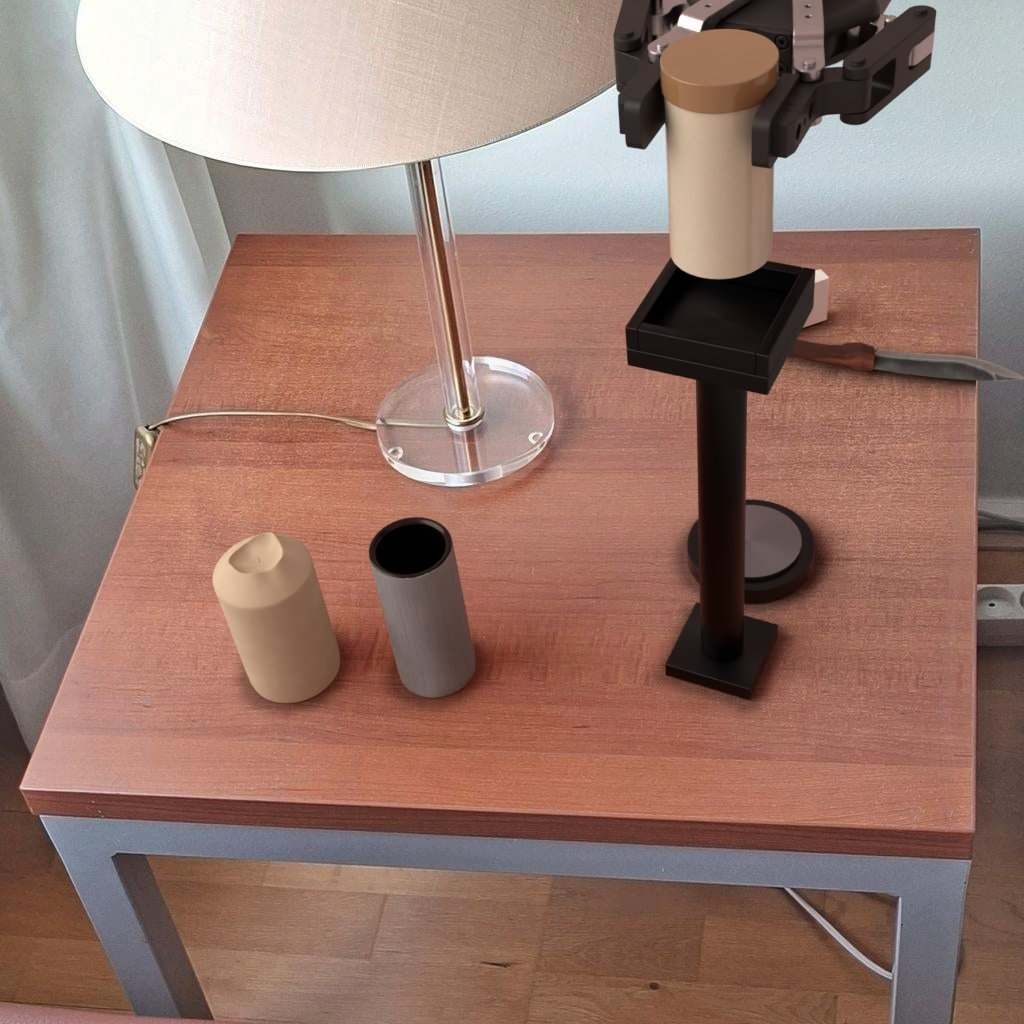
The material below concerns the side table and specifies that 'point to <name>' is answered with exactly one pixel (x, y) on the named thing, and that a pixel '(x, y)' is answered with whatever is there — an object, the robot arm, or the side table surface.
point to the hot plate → (768, 551)
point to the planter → (423, 605)
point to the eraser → (819, 299)
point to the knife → (903, 361)
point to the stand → (722, 440)
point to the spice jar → (717, 151)
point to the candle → (277, 617)
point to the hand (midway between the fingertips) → (696, 136)
